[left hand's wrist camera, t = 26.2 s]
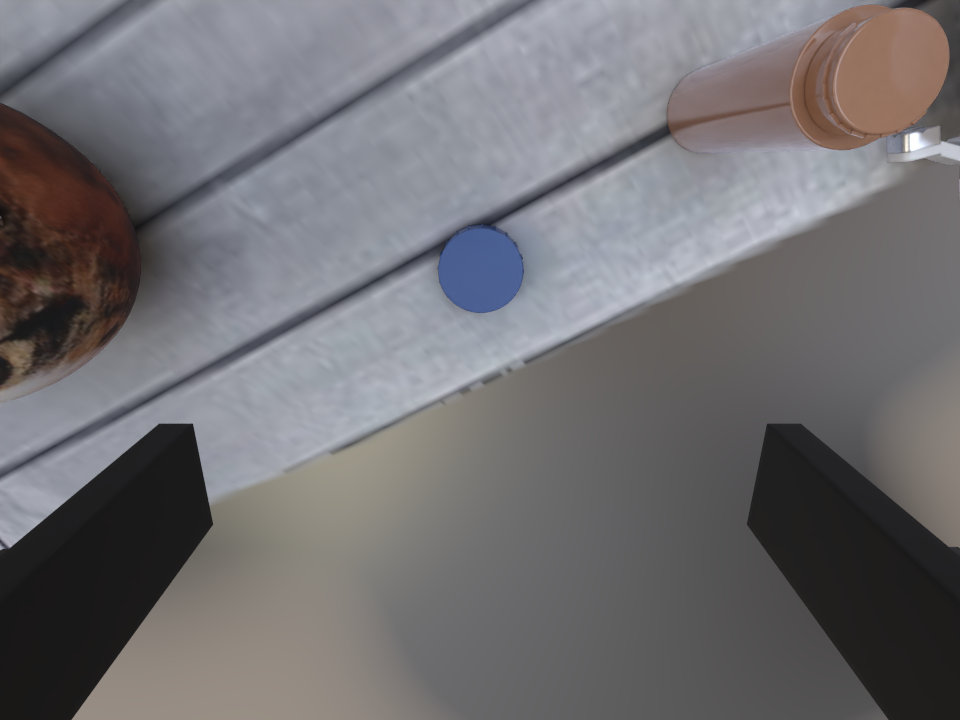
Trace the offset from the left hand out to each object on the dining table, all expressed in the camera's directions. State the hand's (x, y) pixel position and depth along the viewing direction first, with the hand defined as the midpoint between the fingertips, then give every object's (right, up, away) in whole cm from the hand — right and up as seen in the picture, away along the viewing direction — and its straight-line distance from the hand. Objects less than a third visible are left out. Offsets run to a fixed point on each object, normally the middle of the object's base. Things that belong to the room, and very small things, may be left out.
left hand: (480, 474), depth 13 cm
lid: (0, +9, +24) cm, 26 cm away
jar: (+14, +19, +22) cm, 32 cm away
